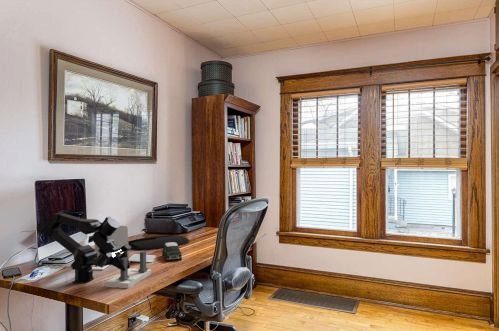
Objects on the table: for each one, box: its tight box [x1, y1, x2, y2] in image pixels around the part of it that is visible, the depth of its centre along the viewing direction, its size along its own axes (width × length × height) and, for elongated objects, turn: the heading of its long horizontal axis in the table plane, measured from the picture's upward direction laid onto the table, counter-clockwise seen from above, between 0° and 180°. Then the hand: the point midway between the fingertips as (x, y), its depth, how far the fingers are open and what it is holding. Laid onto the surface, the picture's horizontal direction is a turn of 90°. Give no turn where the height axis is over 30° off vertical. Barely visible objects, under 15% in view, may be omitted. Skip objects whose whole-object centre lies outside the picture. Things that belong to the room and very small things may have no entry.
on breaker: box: [138, 250, 149, 272], centre depth 155 cm, size 3×4×9 cm
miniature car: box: [161, 242, 183, 262], centre depth 188 cm, size 9×18×8 cm, turn 21°
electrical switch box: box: [94, 225, 130, 259], centre depth 184 cm, size 15×15×20 cm
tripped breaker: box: [119, 257, 129, 280], centre depth 143 cm, size 3×4×9 cm
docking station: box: [128, 234, 190, 252], centre depth 222 cm, size 25×41×5 cm, turn 124°
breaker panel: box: [104, 267, 152, 289], centre depth 149 cm, size 11×20×2 cm, turn 170°
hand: (127, 269), depth 143 cm, fingers open, 3 cm apart
